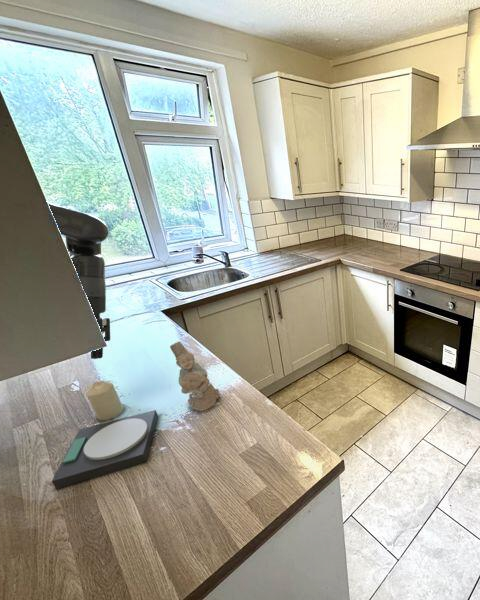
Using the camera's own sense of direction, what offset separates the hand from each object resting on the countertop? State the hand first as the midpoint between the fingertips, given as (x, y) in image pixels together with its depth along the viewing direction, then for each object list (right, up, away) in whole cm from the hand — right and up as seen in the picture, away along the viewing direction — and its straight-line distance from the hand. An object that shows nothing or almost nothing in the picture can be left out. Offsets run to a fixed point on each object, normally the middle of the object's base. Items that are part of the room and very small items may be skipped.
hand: (85, 357), depth 85 cm
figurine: (+25, -15, +10) cm, 31 cm away
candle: (+1, -17, +6) cm, 18 cm away
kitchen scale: (+12, -21, -5) cm, 25 cm away
